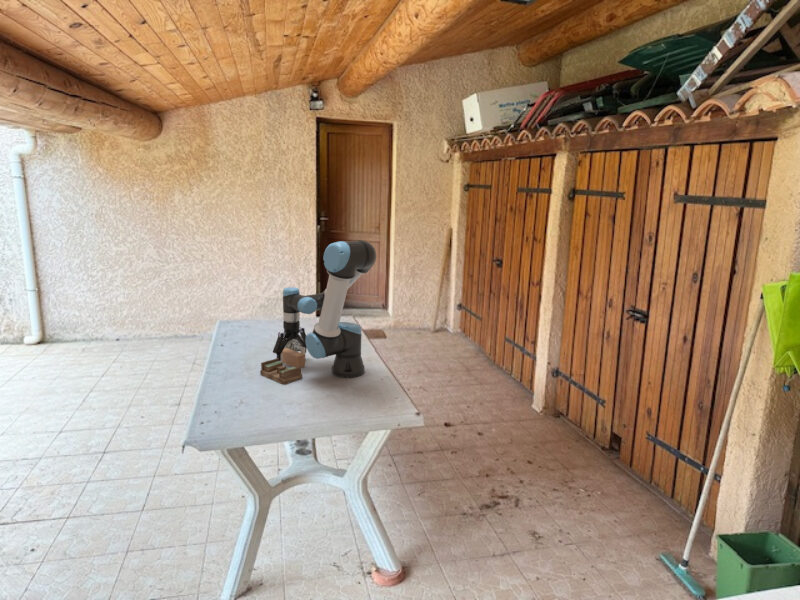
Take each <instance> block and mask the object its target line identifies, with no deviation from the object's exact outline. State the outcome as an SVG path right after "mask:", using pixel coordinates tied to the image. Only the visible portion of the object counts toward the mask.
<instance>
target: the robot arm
mask: <svg viewBox="0 0 800 600" xmlns="http://www.w3.org/2000/svg"><path fill="white" fill-rule="evenodd" d="M324 250H325V251H324V252H323V258H322V259H323V260H322V261H324V262H323V265H324V268H325V269H326V273H327V274H328V279H327V285H326V288H325V289H324V291H322V292H321V293H315V294H307V295H303V294H300V289H299V288H298V287H293V286H292V287H285V288H284V289H283V290H282V313H283V314H282V315H283V316H282V318H283V319H282V320H283V325H282V326H283V332H280V331H279V332H278V333H277V339H276V342H275V345H274V347H273V350H272V353H273V354H276V358H279V361H280V362H282V363H283V354H281V353H282V351H283V349H284V348H286V344H287V343H288V342H289V341H290V340H293V339H297V341H298V342H299V343H300V344H301V345H302V346H301V350H300V353H302V354H305V355H306V354H307V352H308V353H309V354H310V356H311V357H312V358H314V359H325V358H327V357H331V356H334V360H333V364H332V366H331V373H332V375H334V376H336V377H338V378H339V377H340V378H347V379H348V378H357V377H360V376H362V375H364V374H365V371H366V369H365V365H364V361H363V358H362V335H363V334H362V327H361V326H360V325H359V324H358V323H354V322H347V321H346V322H345V321H341V317H342V313H343V309H344V306H345V302H346V297H347V294H348V290H349V288H351V287H352V285H353V284H354V283H355V282H357V280H358V279H359V278H360V277H361V276H362V275H364V274H367V273H368V272H370V270H371V269H372V268H373V267H374V265H375V263H376V260H377V252H376V251H377V250H376V249H375V247H374V246H373V244H372V243H370V242H368V241H367V240H362V239H361V240H360V239H359V240H350V241H349V240H348V241H344V240H343V241H341V240H340V241H336V242H333V243H332V242H331V243H330V244H328V246H327V247H326V248H325V249H324ZM319 310H321V311H320V315H319V319H318V322H317V323H315V324H314V325H313V330H312V332H309V333H307V334H306V331H305V328H304V327H301V326H300V325H301V324H300V319H301V317H300V315H301V314H300V313H302V314H304V315H305V314H306V315H312V314H313V313H315V312H316V311H319ZM298 334H299V335H301V336H302V339H303V340H302V339H301V338H300V336H299V335H298ZM286 338H287V339H286ZM283 364H284V363H283Z"/></svg>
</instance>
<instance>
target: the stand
mask: <svg viewBox="0 0 800 600" xmlns="http://www.w3.org/2000/svg"><path fill="white" fill-rule="evenodd" d="M260 364H261V365H260V367H261V368H260V369H261V370H260V371H259V372H260V376H263V377H265V378H268V379H270V380H273V381H275V382H277V383H279V384H281V385H284V386H285V385H288V384H290V383H293V382H296V381H300V380H303V373H302V367H297V368H295V367H292V366H291V367H289V368H288V367H286V366H284V363H282V362H280V361H279V358H277V357H275V358H274V359H269V360H266V361H262V362H260Z"/></svg>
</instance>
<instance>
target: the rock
mask: <svg viewBox="0 0 800 600" xmlns="http://www.w3.org/2000/svg"><path fill="white" fill-rule="evenodd" d="M298 335H299V336H300V338H301V339H302V336H301V334H300V333H299V334H298ZM286 339H287V338H286ZM302 340H303V339H302ZM301 346H302V345H301V344H300V343H299V342H298V341H297V339H293V340H290V341H289V342H288V343H287V344H286V346H285V348H288V349H291V350H294V351H301Z"/></svg>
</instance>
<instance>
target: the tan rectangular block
mask: <svg viewBox="0 0 800 600" xmlns="http://www.w3.org/2000/svg"><path fill="white" fill-rule="evenodd" d="M281 354H283V364H285V365H287V366H290V367H291V368H292V367H295V368H297V367H301V368H304V367H306V353H305V354H302V353H301V351H298V350H296V351H294V350H291V349H288V348H286V347H285V348H284V349H283V351H282V353H281Z"/></svg>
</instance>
